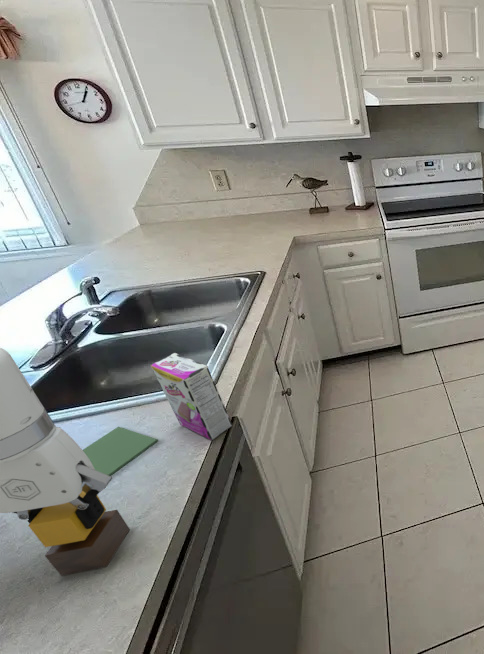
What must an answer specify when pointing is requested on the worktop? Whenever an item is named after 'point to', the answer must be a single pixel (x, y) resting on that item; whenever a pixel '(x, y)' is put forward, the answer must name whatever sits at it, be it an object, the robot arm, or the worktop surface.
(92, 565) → the walnut block
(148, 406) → the worktop surface
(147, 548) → the worktop surface
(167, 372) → the candy bar box
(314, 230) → the worktop surface
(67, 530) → the mustard block
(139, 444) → the green mat
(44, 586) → the worktop surface
